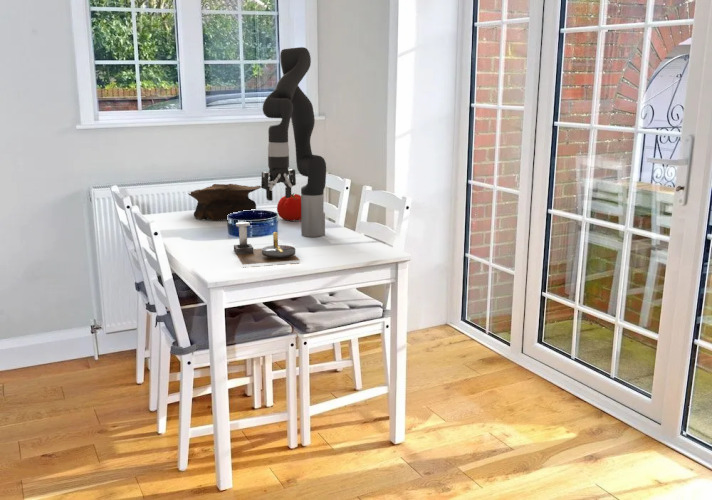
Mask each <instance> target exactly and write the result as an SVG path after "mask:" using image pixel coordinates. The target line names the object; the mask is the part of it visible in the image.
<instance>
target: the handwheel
mask: <svg viewBox="0 0 712 500" xmlns="http://www.w3.org/2000/svg"><path fill="white" fill-rule="evenodd" d="M272 234H273V235H272V236H273V237H272V238H273V239H272V241H273V245H268V246H264V247H261V249H262V255H264V256H267V257H275V258H281V257H289V256H293V255H296V248H295V247H294V246H291V245H283V244H281V245H280V244H279V236H278V235H279V234H278V232H276V231H274V232H273V233H272Z"/></svg>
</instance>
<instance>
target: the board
mask: <svg viewBox="0 0 712 500" xmlns="http://www.w3.org/2000/svg"><path fill="white" fill-rule="evenodd" d="M233 252H234V254H235V255H236V257H237V258H238V259H239V261H240V263H241V264H242V265H251V264H252V265H253V264H268V263H278V262H279V263H280V264H278V266H283V265H284V266H285V263H284V264H282V263H281V262H293V261H295V262H296V261H300V258H299V257H297V255H296V254H295V255H293V256H289V257H281V258H275V257H267V256H264V255H262V248H254V246H253V245H252V244H251V243H247V248H240V244H233ZM295 262H294V263H291V265H294V264H295V265H296V264H297V265H298V262H296V263H295ZM268 266H269V267H270V266H272V264H269V265H265V267H268ZM244 267H245V266H243V267H242V268H244ZM256 267H259V265H258V266H257V265H253V266H252V268H256Z"/></svg>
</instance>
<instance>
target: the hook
mask: <svg viewBox="0 0 712 500" xmlns="http://www.w3.org/2000/svg"><path fill="white" fill-rule="evenodd" d="M235 226H236V227H238V233H239V235H238V237H239V245H240V248H247V244H248V227H247V226H249V227H250V226H251V225H250V221H249V222H247V221H246V222H236V223H235Z"/></svg>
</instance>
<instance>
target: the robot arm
mask: <svg viewBox="0 0 712 500" xmlns="http://www.w3.org/2000/svg"><path fill="white" fill-rule="evenodd" d="M310 54H311V53H310V50H308V48H306V47H302V46H301V47H293V48H291V47H290V48H283V49H282V50H280V54H279V59H280V60H279V61H280V67H281V71H282V72H281V73H282V75H283V76H281V77H280V78H279V80H278V81H277V83H276V86H275V87H274V90H273V91H272V92H270V93H269V95H268V96H267V97H266V98H265V99H264V102H263V104H262V113H263V115H264V116H265V117H266V118H269V119H281V121H280V122H279V123H278V124H273V125H270V126H269V127H268V130H267V131H268V146H267V157H268V158H267V165H268V166H267V167H268V169H269V171H268V172H267V171H262V172H261V182H260V183H261V184H260V186H261V188H260V189H263V190H265V191H266V193H265V194H266V195H265V196H266V197H265V198H266V200H267V201H270V202H271V201H273V199H274V198H273V188H274V187H275V186H276V184H279V183H282V184H284V186H285V188H284V189H285V191H284V192H285V195H284V196H285V197H286V198H290V197H291V194H292V188H293V187H294V186H297V185H296V184H297V179H296V169H297V171H298V173H299V174H300V175H301V176H303V177H307V183H306V184H305V185H302V186H301V188H300V196H301V220H300V223H301V224H300V225H301V226H300V228H301V229H300V230H301V231H300V232H301V233H300V234H301V236H303V237H307V238H314V237H315V238H317V237H323V236H326V213H325V210H324V209H325V208H324V190H325V188H326V181H327V163H326V161H325V158H324V157H323V156H322V155H318V154H313V153H312V152H313V151H312V147H311V137H312V134H313V132H314V131H313V130H314V128H315V123H316V122H315V121H316V120H315V113H314V106H313V104H312V102H311V100H310V99H309V97H308V96H307V95H306V94H305V93H304V91H303V90H302V89H301V87H300V86H299V84H300V83H301V81H302V80H303V78H305V76H306V74H307V73H308V71H309V69H310V67H311V62H312V61H311V60H312V58H311V55H310ZM290 122H291V125H292V131H293V138H294V146H295V159H296V161H295V163H296V169H293V168H290V148H289V147H290V146H289V128H290V127H289V126H290Z"/></svg>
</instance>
